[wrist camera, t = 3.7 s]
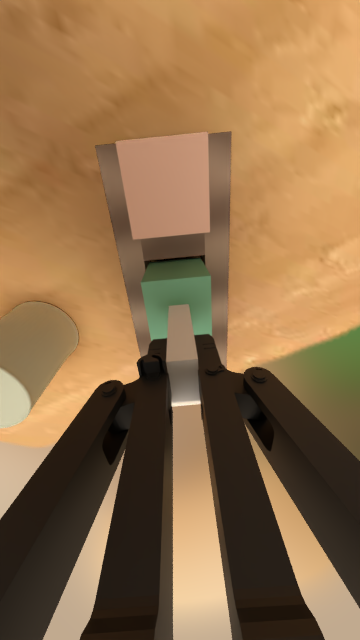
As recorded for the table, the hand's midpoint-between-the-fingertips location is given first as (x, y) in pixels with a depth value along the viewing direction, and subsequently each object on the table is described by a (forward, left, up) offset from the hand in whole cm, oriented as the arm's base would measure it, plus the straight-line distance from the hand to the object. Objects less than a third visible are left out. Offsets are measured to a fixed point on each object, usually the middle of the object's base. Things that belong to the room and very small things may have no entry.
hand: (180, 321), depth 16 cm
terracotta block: (-9, 0, -9) cm, 12 cm away
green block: (0, 0, -9) cm, 9 cm away
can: (+6, -19, -12) cm, 23 cm away
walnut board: (0, 0, -12) cm, 12 cm away
